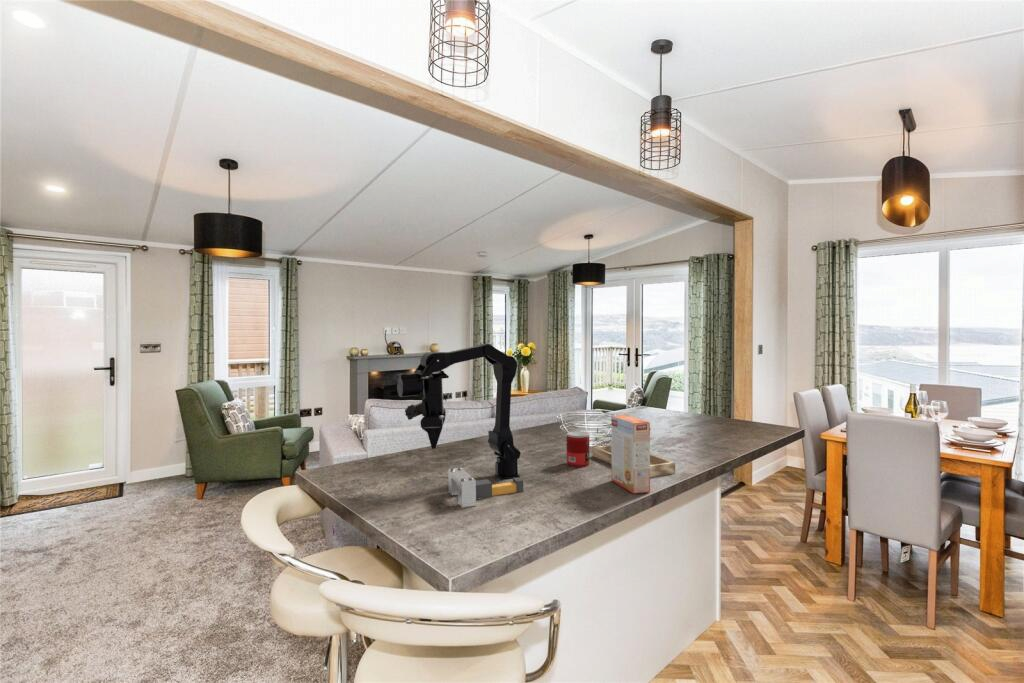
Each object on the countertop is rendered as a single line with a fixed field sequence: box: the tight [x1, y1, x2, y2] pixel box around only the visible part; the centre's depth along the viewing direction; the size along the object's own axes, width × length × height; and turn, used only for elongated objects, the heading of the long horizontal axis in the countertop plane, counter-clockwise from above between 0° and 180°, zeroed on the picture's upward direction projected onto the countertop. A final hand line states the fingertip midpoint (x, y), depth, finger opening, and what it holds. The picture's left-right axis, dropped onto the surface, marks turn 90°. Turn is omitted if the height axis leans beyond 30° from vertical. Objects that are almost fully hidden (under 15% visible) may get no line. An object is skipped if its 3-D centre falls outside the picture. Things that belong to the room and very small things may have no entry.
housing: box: [447, 467, 477, 509], centre depth 139 cm, size 4×14×7 cm, turn 22°
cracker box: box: [610, 414, 651, 495], centre depth 147 cm, size 14×6×21 cm, turn 15°
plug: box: [476, 477, 524, 500], centre depth 143 cm, size 15×4×4 cm, turn 112°
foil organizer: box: [592, 444, 676, 478], centre depth 172 cm, size 13×30×4 cm, turn 22°
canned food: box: [566, 430, 590, 468], centre depth 173 cm, size 8×8×11 cm
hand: (434, 444), depth 148 cm, fingers open, 9 cm apart
